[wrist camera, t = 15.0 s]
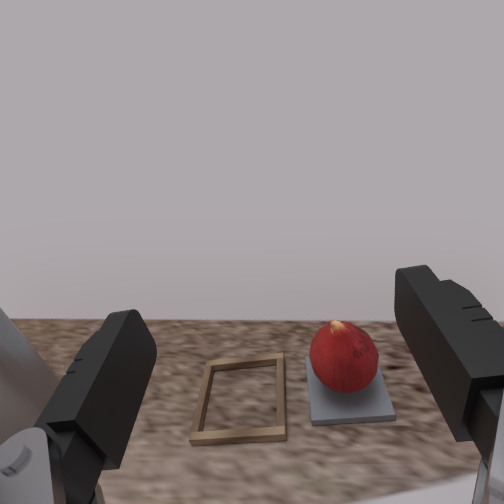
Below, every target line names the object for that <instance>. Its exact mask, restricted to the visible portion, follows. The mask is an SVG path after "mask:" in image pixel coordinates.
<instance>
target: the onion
mask: <svg viewBox="0 0 504 504" xmlns="http://www.w3.org/2000/svg"><path fill="white" fill-rule="evenodd" d="M309 358H310V362H311V365H312V369H313V371H314V374H315V375H316V376H317V377H318V379H319V380H320V381H321V382H322V383H323V384H324V385H326V386H328V387H329V388H331V389H332V390H334V391H337V392H342V393H346V394H347V393H355V392H359V391H360V390H362V389H364V388H366V387H367V386H368V385H369V384H370V383H371V381H372V380H373V379H374V377H375V376H376V374H377V368H378V358H379V355H378V352H377V349H376V347H375V345H374V343H373V341H372V339H371V338H370V336H369V334H367V333H366V332H365V331H364V330H362V329H360V328H358V327H357V326H355V325H353V324H351V323H348V322H345V321H336V320H333V321H332V320H330V322H329V324H327V325H326V326H324V327H322V328H321V329H319V331H318V332H317V334H316V335H315V337H314V338H313V340H312V342H311V347H310V356H309Z"/></svg>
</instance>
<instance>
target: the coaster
mask: <svg viewBox="0 0 504 504" xmlns="http://www.w3.org/2000/svg"><path fill="white" fill-rule="evenodd" d="M305 359H306V369H307V379H308V390H309V400H310V411H311V421H312V425H313V426H316V425H331V424H346V423H361V422H377V421H392V420H396V415H395V412H394V409H393V406H392V403H391V400H390V397H389V394H388V391H387V388H386V385H385V382H384V379H383V376H382V373H381V370H380V367H379V364H378V368H377V374H376V376H375V377H374V379H373V380H372V381H371V383H370V384H369V385H368V386H367V387H366V388H364V389H362V390H360V391H359V392H355V393H347V394H346V393H342V392H337V391H334V390H332V389H331V388H329V387H328V386H326V385H324V384H323V383H322V382H321V381H320V380H319V379H318V377H317V376H316V375H315V374H314V371H313V369H312V365H311V362H310V358H309V356H305Z"/></svg>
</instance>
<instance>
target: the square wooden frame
mask: <svg viewBox="0 0 504 504" xmlns="http://www.w3.org/2000/svg"><path fill="white" fill-rule="evenodd" d="M270 365H277V426H276V427H262V428H247V429H232V430H217V431H202V430H203V425H204V420H205V415H206V410H207V405H208V400H209V395H210V390H211V385H212V380H213V375H214V371H221V370H230V369H240V368H250V367H260V366H270ZM286 440H287V425H286V387H285V358H284V354H283V353H275V354H266V355H256V356H247V357H238V358H229V359H220V360H210V361H207V363H206V367H205V372H204V376H203V380H202V384H201V389H200V393H199V397H198V401H197V406H196V410H195V414H194V419H193V423H192V427H191V431H190V436H189V442H190V443H191V445H192V446H201V445H218V444H235V443H252V442H269V441H286Z"/></svg>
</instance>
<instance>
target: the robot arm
mask: <svg viewBox="0 0 504 504" xmlns="http://www.w3.org/2000/svg"><path fill="white" fill-rule="evenodd" d="M394 305H395V306H394V310H395V317H396V321H397V324H398V327H399V330H400V332H401V334H402V336H403V338H404V339H405V341H406V343H407V345H408V347H409V349H410V351H411V353H412V355H413V357H414V359H415V361H416V363H417V365H418V367H419V369H420V371H421V373H422V375H423V377H424V379H425V381H426V383H427V385H428V387H429V389H430V391H431V393H432V395H433V397H434V399H435V401H436V403H437V405H438V407H439V409H440V411H441V413H442V415H443V417H444V418H445V420H446V422H447V424H448V426H449V428H450V430H451V432H452V434H453V436H454V438H455V440H456V442H464V441H474V443H475V445H476V447H477V448H478V450H479V452H480V454H481V459H480V464H479V469H478V474H477V480H476V485H475V490H474V495H473V500H472V504H504V329H503V328H502V327H501V326H500V325H499V324H498V323H497V321H494V320H493V317H492V316H491V315H490V314H489V313H488V311H487V310H486V309H485V308H482V305H481V303H480V302H479V301H478V300H477V299H476V298H475V297H474V295H473V294H472V293H471V292H470V291H469V290H467V289H466V288H464V287H462V286H461V285H459V284H457V283H455V282H453V281H452V280H444V281H439V279H438V278H437V277H436V275H435V274H434V273H433V272H432V270H431V269H430V268H429V267H428V266H427V265H420V266H413V267H407V268H400V269H397V270H396V274H395V303H394ZM156 357H157V348H156V344H155V341H154V339H153V337H152V335H151V333H150V332H149V330H148V328H147V326H146V324H145V322H144V321H143V319H142V317H141V315H140V313H139V312H138V311H137V310H135V309H133V310H126V311H120V312H113V313H110V314H109V315H108V317H107V318H106V320H105V321H104V323H103V325H102V327H101V328H100V330H99V331H96V332H95V333H94V334H93V335H92V336H91V337H90V338H89V339H88V340H87V341H86V342H85V343H84V344H83V345H82V347H81V349H80V350H79V352H78V354H77V355H76V357H75V359H74V362H73V363H72V364H71V365H70V367H69V368H68V370H67V372H66V373H67V374H66V375H64V377H63V378H62V380H61V381H60V379H59V378H58V377H57V376H56V374H55V373H54V372H53V371H52V369H51V368H50V367H49V366H48V365H47V363H46V362H45V361H44V360H43V359H42V357H41V356H40V355H39V354H38V353H37V351H36V350H35V349H34V348H33V346H32V345H31V344H30V343H29V342H28V340H27V339H26V338H25V337H24V336H23V334H22V333H21V332H20V331H19V330H18V328H17V327H16V326H15V325H14V324H13V322H12V321H11V320H10V319H9V318H8V316H7V315H6V314H5V313H4V312H3V310H2V309H1V308H0V504H105V501H104V497H103V493H102V489H101V486H100V485H99V483H98V479H99V476H100V474H101V471H102V470H112V469H119V468H120V465H121V462H122V459H123V456H124V453H125V450H126V447H127V444H128V441H129V438H130V435H131V432H132V429H133V426H134V423H135V420H136V418H137V415H138V412H139V409H140V406H141V403H142V400H143V397H144V394H145V391H146V388H147V385H148V382H149V379H150V376H151V373H152V370H153V367H154V365H155V362H156Z"/></svg>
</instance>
